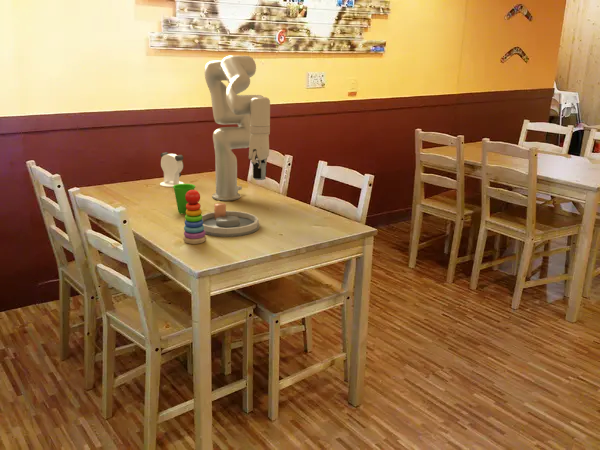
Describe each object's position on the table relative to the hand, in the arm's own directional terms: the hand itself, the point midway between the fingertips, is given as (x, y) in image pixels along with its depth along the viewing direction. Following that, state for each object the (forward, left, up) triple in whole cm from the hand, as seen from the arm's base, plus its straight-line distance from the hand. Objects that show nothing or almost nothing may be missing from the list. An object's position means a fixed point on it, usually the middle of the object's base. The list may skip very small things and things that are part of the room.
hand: (259, 176), depth 228 cm
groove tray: (+15, -5, -18) cm, 23 cm away
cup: (+9, -31, -18) cm, 37 cm away
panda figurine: (-25, -67, -18) cm, 74 cm away
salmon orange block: (+11, -11, -17) cm, 23 cm away
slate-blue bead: (0, 0, -1) cm, 1 cm away
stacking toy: (+35, -5, -18) cm, 39 cm away
